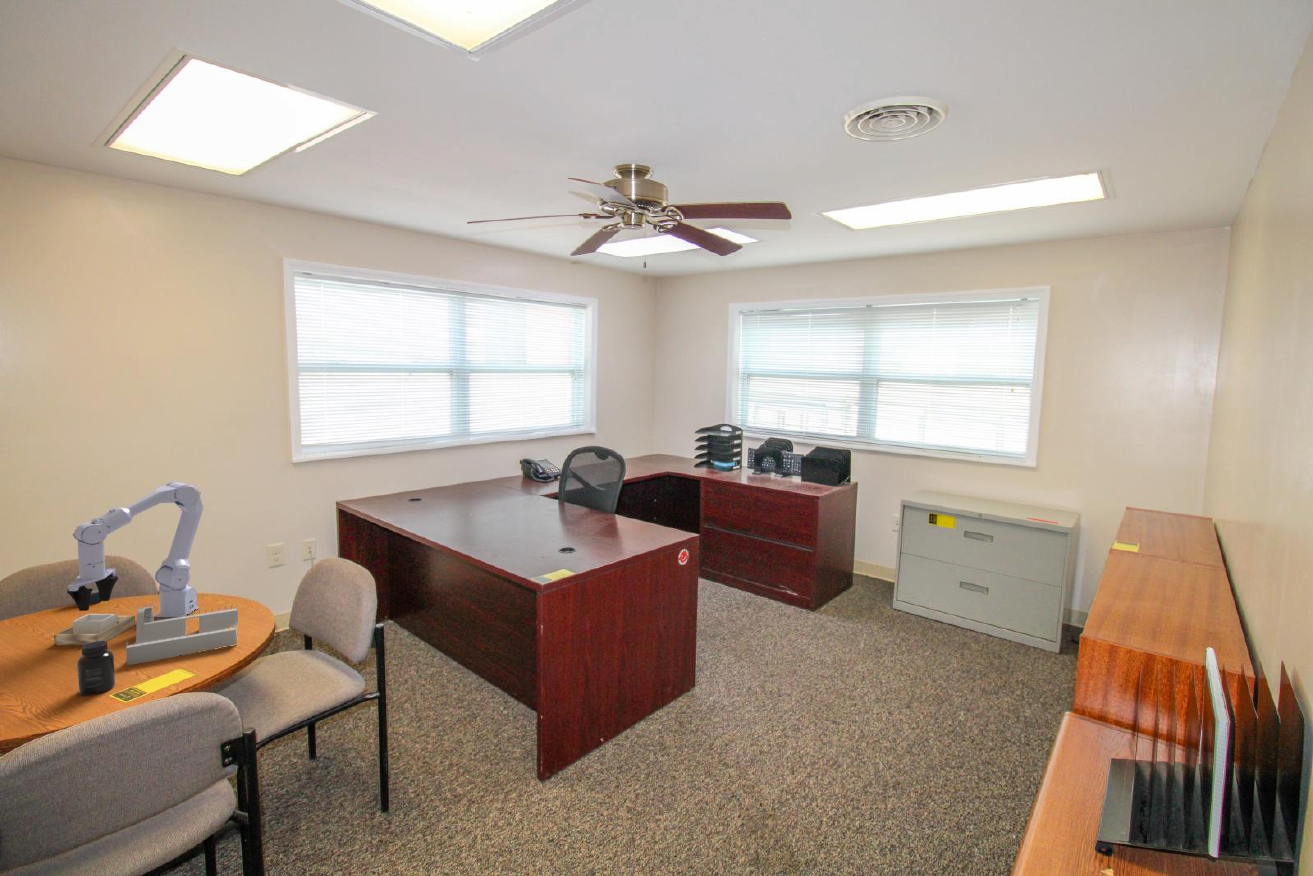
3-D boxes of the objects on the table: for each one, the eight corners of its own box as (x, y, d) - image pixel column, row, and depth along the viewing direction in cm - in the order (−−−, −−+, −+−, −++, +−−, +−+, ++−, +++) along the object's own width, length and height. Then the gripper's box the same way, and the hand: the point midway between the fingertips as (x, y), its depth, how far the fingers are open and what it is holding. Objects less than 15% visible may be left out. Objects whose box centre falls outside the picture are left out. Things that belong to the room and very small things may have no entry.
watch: (108, 601, 208) (107, 570, 206) (76, 606, 202) (74, 575, 201) (108, 596, 212) (106, 566, 211) (77, 601, 206) (75, 570, 205)
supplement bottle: (122, 682, 157) (120, 639, 155) (99, 696, 150) (96, 651, 149) (95, 682, 156) (93, 638, 155) (71, 696, 150) (68, 650, 148)
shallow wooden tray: (135, 625, 190) (134, 615, 190) (98, 645, 176) (97, 635, 176) (94, 625, 189) (93, 615, 188) (54, 645, 175) (53, 635, 174)
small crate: (116, 629, 185) (115, 614, 185) (102, 637, 180) (101, 621, 179) (88, 629, 184) (87, 614, 184) (73, 637, 179) (72, 621, 179)
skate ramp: (127, 666, 165) (125, 632, 164) (140, 635, 184) (138, 604, 183) (236, 646, 179) (235, 614, 178) (238, 619, 198) (237, 590, 197)
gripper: (97, 554, 187) (100, 596, 188) (55, 570, 172) (58, 615, 174) (121, 555, 187) (124, 596, 189) (82, 570, 173) (85, 615, 174)
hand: (94, 605), depth 181 cm, fingers open, 7 cm apart
